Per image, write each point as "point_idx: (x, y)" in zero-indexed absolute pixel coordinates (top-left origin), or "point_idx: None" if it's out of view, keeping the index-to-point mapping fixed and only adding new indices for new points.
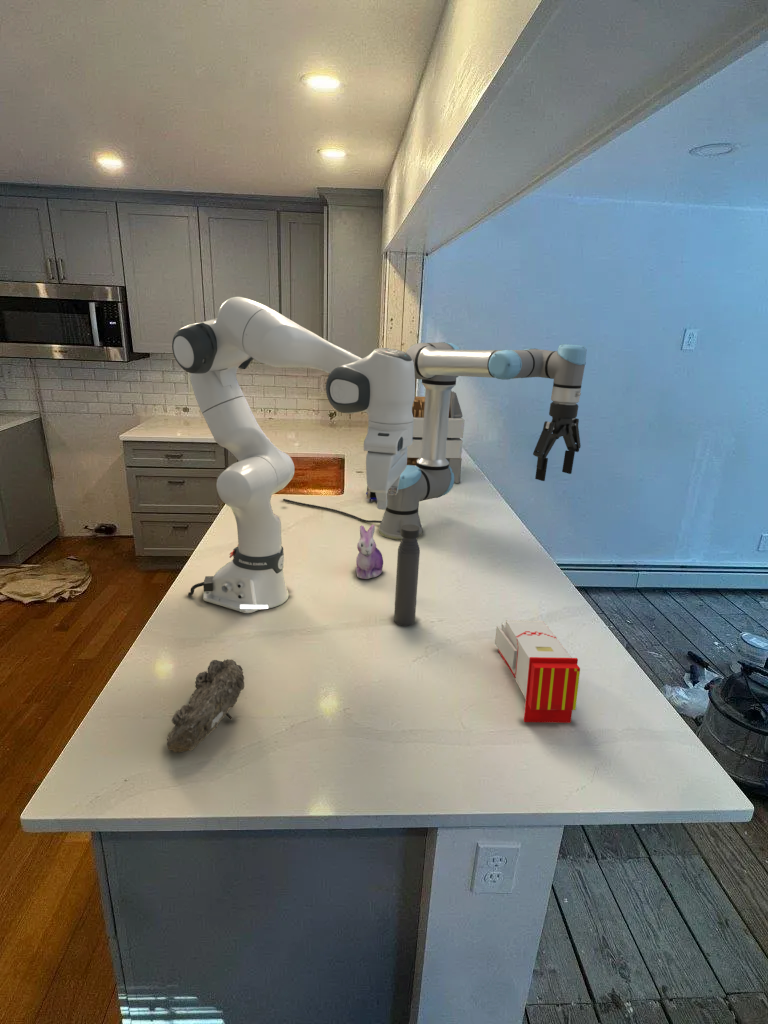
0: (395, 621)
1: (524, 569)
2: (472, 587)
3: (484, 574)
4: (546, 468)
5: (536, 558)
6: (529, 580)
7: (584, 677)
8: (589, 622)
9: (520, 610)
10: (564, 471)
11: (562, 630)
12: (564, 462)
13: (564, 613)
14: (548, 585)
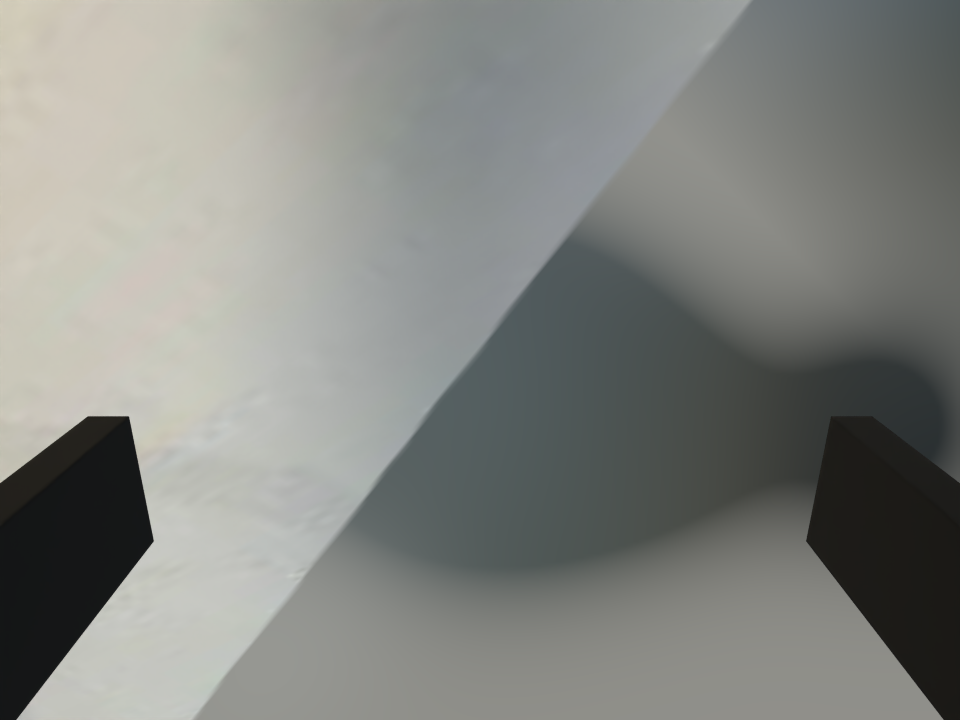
0: None
1: (448, 159)
2: (68, 132)
3: (220, 67)
4: (38, 688)
5: (620, 110)
6: (368, 251)
7: None
8: (288, 567)
9: (125, 388)
10: (831, 462)
11: (161, 544)
12: (928, 525)
13: (261, 491)
14: (402, 331)
